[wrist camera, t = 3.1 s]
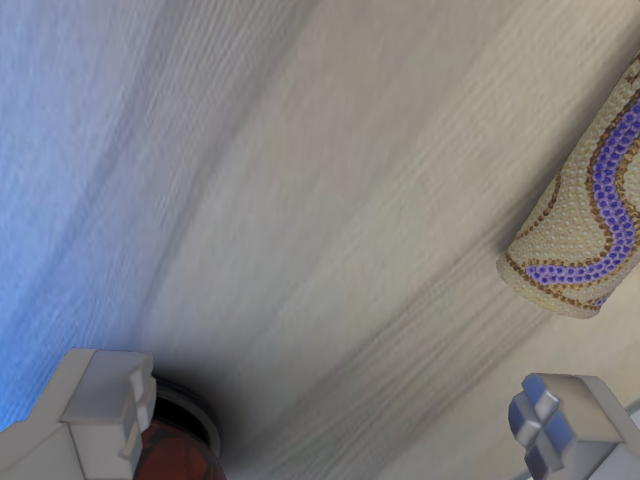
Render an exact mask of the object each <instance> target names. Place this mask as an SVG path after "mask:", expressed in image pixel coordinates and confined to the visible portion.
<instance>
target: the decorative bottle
mask: <svg viewBox="0 0 640 480" xmlns="http://www.w3.org/2000/svg"><path fill="white" fill-rule="evenodd" d="M639 262H640V48H639V50H638V51H637V53H636V54H635V55H634V57H633V59H632V60H631V62H630V64H629V65H628V66H627V68H626V70H625V72H623V74H622V76H621V78H620V80H619V81H618V83H617V85H616V86H615V88H614V89H613V90H612V92H611V94H610V95H609V97H608V98H607V100H606V101H605V103H604V104H603V106H602V107H601V108H600V110H599V111H598V113H597V115H596V116H595V118H594V119H593V121H592V122H591V124H590V125H589V127H588V129H587V130H586V131H585V133H584V134H583V136H582V137H581V138H580V140H579V141H578V143H577V144H576V146H575V147H574V149H573V151H572V152H571V154H570V155H569V157H568V158H567V160H566V162H565V163H564V165H563V166H562V167H561V169H560V170H559V171H558V172H557V174H556V175H555V177H554V178H553V180H552V181H551V182H550V184H549V185H548V186H547V188H546V189H545V191H544V193H543V194H542V196H541V197H540V199H539V200H538V202H537V204H536V205H535V207H534V208H533V210H532V212H531V214H530V216H528V218H527V220H526V221H525V223H524V224H523V226H522V228H521V230H519V231H518V233H517V234H516V236H515V239H514V240H513V242H512V243H511V244H510V246H509V247H508V249H507V250H506V251H504V252H503V253H502V254H501V256H500V258H499V260H497V263H496V264H497V266H496V267H497V270H498V272H499V275H500V276H501V278H502V279H503V280H504V281H505V282H506V283H507V284H508V285H509V286H510V287H512V288H513V289H514V290H515V291H516V292H517V293H519V294H520V295H522V296H523V297H524V298H526V299H529V300H530V301H532V302H533V303H535V304H537V305H539V306H541V307H543V308H545V309H547V310H550V311H552V312H555V313H558V314H560V315H565V316H569V317H574V318H578V319H589V318H591V317H593V316H595V315H597V314H598V313H599V311H600V308H601V306H602V304H603V303H604V302H605V301H606V299H607V298H608V297H609V296H610V295H611V293H612V292H613V291H614V290H615V288H616V287H617V286H618V285H619V284H620V283H621V282H622V280H623V279H624V278H626V276H627V275H628V274H629V273H630V272H631V270H632V269H633V268H634V267H635V266H636V265H637V264H638V263H639Z"/></svg>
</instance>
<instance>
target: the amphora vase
mask: <svg viewBox="0 0 640 480" xmlns="http://www.w3.org/2000/svg"><path fill="white" fill-rule="evenodd" d="M141 438H142V445H143V448H142V451H141V454H140V457H139V460H138V463H137V467H136V470H135V473H134V476H133V479H132V480H227V479H226V476H225V474H224V472H223V469H222V467H221V465H220V463H219V458H220V456H221V454H222V452H223V430H222V428H221V425H220V423H219V420H218V418H217V417H216V416H215V414H214V413H213V412H212V411H211V410H210V408H209V407H208V406H207V405H206V404H205V403H204V402H203V401H201V400H200V399H199V398H197V397H196V396H195V395H193V394H192V393H191V392H189V391H187V390H185V389H183V388H180V387H178V386H176V385H174V384H172V383H169V382H165V381H162V380H158V379H156V401H155V407H154V412H153V416H152V419H151V422H150V426H149V427H148V428H147V429H145V430H144V431H143V432H142V433H141Z"/></svg>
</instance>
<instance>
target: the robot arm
mask: <svg viewBox="0 0 640 480" xmlns="http://www.w3.org/2000/svg"><path fill="white" fill-rule="evenodd" d="M153 366H154V362H153V356H152V354H151V353H143V352H130V351H117V350H105V349H88V348H74V347H72V348H71V349H70V350H69V351H68V352H67V353H66V354H65V355H64V357H63V358H62V360H61V362H60V363H59V365H58V367H57V368H56V370H55V372H54V374H53V375H52V377H51V379H50V380H49V382H48V384H47V385H46V387H45V389H44V390H43V392H42V394H41V396H40V397H39V399H38V401H37V402H36V404H35V406H34V407H33V409H32V411H31V412H30V414H29V416H28V418H27V419H26V421H16V422H14V423H13V424H12V425H10V426H9V427H7V428H6V429H4V430H3V431H2V432H0V480H132V479H133V476H134V473H135V470H136V467H137V463H138V460H139V457H140V454H141V451H142V448H143V445H142V438H141V433H142V432H143V431H144V430H145V429H147V428H148V427H149V426H150V422H151V419H152V416H153V412H154V407H155V401H156V379H155V378H153V377H152V376H151V372H152V369H153ZM522 387H523V389H524V391H522V392H521V393H519V394H517V395H516V396H514V397H513V399H512V401H511V403H510V405H509V415H508V419H509V424H510V428H511V431H512V433H513V435H514V438H515V440H517V441H518V442H519V443H520V444H521V445H522V446H523V447H524V448H525V449H526V453H525V457H524V460H525V462H526V464H527V466H528V468H529V471H530V473H531V475H532V477H533V479H534V480H640V430H639V429H638V427H637V426H636V425H635V423H634V422H633V420H632V419H631V418H630V416H629V415H628V414H627V412H626V411H625V409H624V408H623V407H622V405H621V404H620V403H619V401H618V400H617V398H616V397H615V396H614V394H613V393H612V392H611V390H610V389H609V388H608V386H607V385H606V383H605V382H604V381H603V380H601V379H600V378H599V377H597V376H580V375H567V374H542V373H531V374H529V375H528V376H526V377H525V379H524V380H523V382H522Z"/></svg>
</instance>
